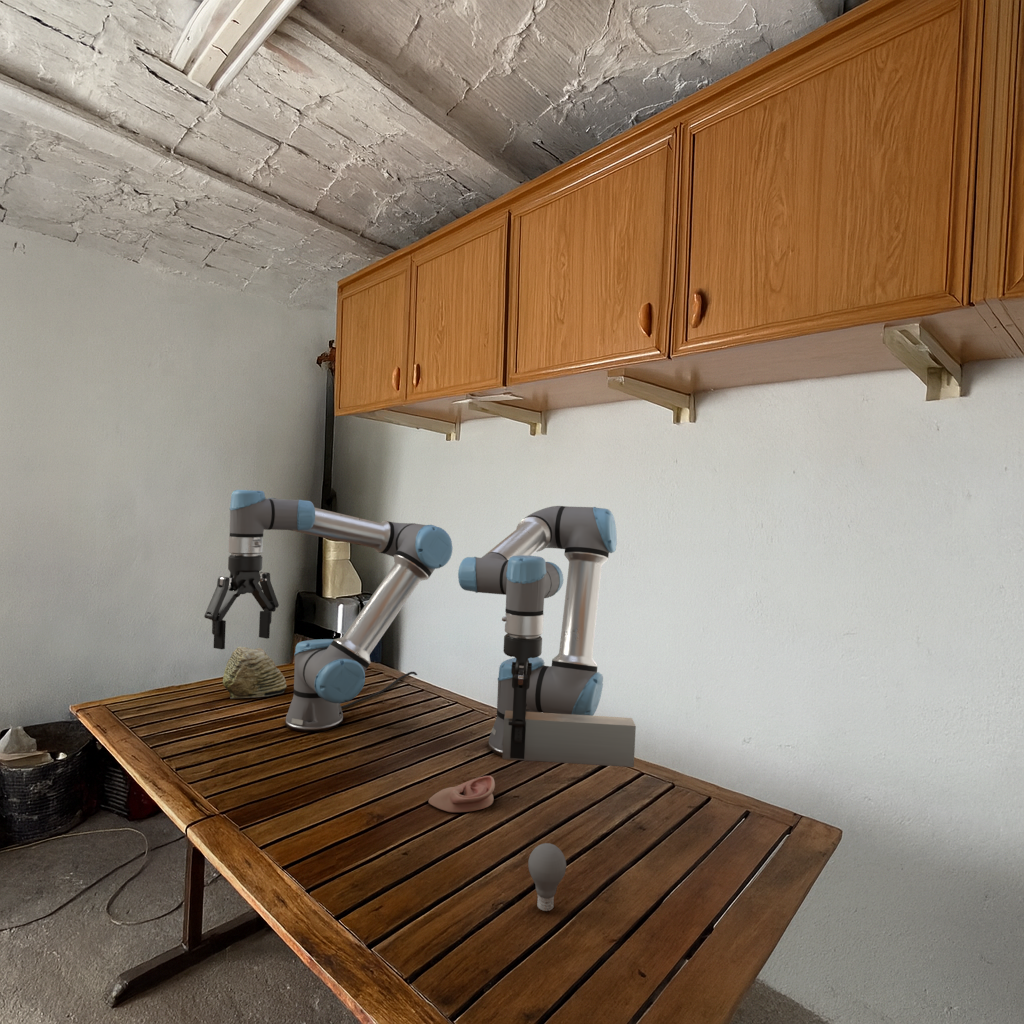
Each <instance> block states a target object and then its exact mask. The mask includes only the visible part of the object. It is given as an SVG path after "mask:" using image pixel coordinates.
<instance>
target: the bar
mask: <svg viewBox="0 0 1024 1024" xmlns="http://www.w3.org/2000/svg"><path fill="white" fill-rule="evenodd" d="M512 719H513V711H505V717H504V735H503V756H501V757H502V760H509V761H510V760H511V761H525V762H540V763H541V762H544V763H556V764H558V763H559V764H574V765H589V766H590V765H591V766H604V767H605V766H606V767H621V768H634V767H635V751H636V732H637V730H636V729H637V725H636V723H635V721H634V719H633V717H624V716H623V717H622V716H604V715H593V716H590V715H573V714H557V713H543V712H541V713H540V712H526V716H525V721H526V732H525V753H524V759H515V758H510V752H511V731H512V725H509V722H512Z"/></svg>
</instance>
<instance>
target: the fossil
mask: <svg viewBox="0 0 1024 1024" xmlns="http://www.w3.org/2000/svg"><path fill="white" fill-rule="evenodd" d="M222 676H223V677H222V685H223V687H224V688H225V690H226V691H228V693H229V698H230V699H250V698H264V697H271V696H275V695H281V694H284V693H285V691H286V689H287V687H288V686H287V680H286V678H285V676H284V674H283V673H282V672H281V669H279V668H278V667H277V665H276V663H275V662H274V660H273V659H272V658H271V657H270V656H269V655H268V654H267V653H266V652H265V650H264V649H263V648H260V647H258V648H251V647H247V646H246V647H245V646H238V647H237V648H236V649H235V650H233V651H232V653H231V656H230V657H229V659H228V660H227V663H226V666H225V668H224V671H223V675H222Z"/></svg>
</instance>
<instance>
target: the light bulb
mask: <svg viewBox="0 0 1024 1024" xmlns="http://www.w3.org/2000/svg"><path fill="white" fill-rule="evenodd" d="M527 865H528V872H529V875H530V876H531V879H532V881H533V883H534V884H535V892H536V894H537V903H536V906H537V908H538V909H539V910H540V911H544V912H548V911H549V912H550V911H551V910H554V905H555V901H554V899H555V895H556V893H557V890H558V886H559V885H560V883H561V882H562V880H563V878H564V877H565V875H566V871H567V861H566V857H565V855H564V852H563V851H562V850H561V849H560V848H559V847H558V846H557V845H556V844H553V843H550V842H549V843H548V842H545V843H541V844H538V845H537V846H535V848H533V850H532V851H531V852H530V854H529V857H528V862H527Z"/></svg>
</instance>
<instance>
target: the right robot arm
mask: <svg viewBox="0 0 1024 1024" xmlns="http://www.w3.org/2000/svg"><path fill="white" fill-rule="evenodd" d="M614 516H615V515H614V513H613V512H612V511H611V510H610V509H608V508H604V507H603V508H602V507H596V506H592V507H591V506H567V505H566V506H565V505H552V506H547V507H545V508H542V509H539V510H536V511H534V512H532V513H530V514H528V515H527V516H525V517H524V518H522V519H521V520H520V521H519V522H518V524H517V526H516V529H515V530H514V531H513V532H511V533H510V534H509V535H507V536H506V537H505V538H504V539H503V540H501V541H500V542H499V543H498V544H496V545H495V546H494V547H492V548H491V549H490V550H489V551H487V553H485V554H484V555H483V556H482V557H477V556H466V557H464V558H463V559H462V560H461V562H460V564H459V566H458V570H457V571H458V572H457V577H458V584H459V586H460V588H461V589H462V590H464V591H466V592H467V591H468V592H474V593H475V594H478V593H479V594H480V593H481V594H490V595H491V594H493V595H503V596H505V608H504V609H505V611H504V612H505V616H502V618H501V621H502V622H505V623H504V632H505V633H506V634H505V635H504V636H503V650H502V651H503V653H504V654H505V655H506V656H508V657H509V659H505V660H503V661H502V662H501V663H500V665H499V667H498V668H499V669H498V677H497V701H496V718H495V721H494V723H493V726H492V729H491V731H490V734H489V736H488V749H489V751H491V752H492V753H494V754H495V755H498V756H500V757H503V735H504V717H505V711H513V719H512V722H509V725H512V731H511V752H510V758H515V759H524V753H525V732H526V721H525V716H526V712H540V713H557V714H573V715H590V716H595V713H596V712H597V709H598V707H599V704H600V701H601V697H602V692H603V688H604V683H603V682H604V676H603V674H602V673H600V672H599V671H598V664H597V662H596V661H595V659H594V657H593V656H594V644H595V635H596V626H597V625H596V624H597V617H598V606H599V597H600V587H601V577H602V568H603V567H602V566H603V565H604V564H605V563H607V562H608V560H609V556H610V555H609V554H613V553H615V552H616V550H617V544H618V543H617V542H618V541H617V540H618V539H617V526H616V525H617V524H616V521H615V517H614ZM545 549H559V550H564V553H563V555H564V557H565V558H566V560H568V569H567V578H566V588H565V596H564V598H565V599H564V604H563V605H564V606H563V614H562V624H561V632H560V641H559V650H558V654H557V655H555V656H554V657H553V658H552V660H551V666H550V665H545V660H544V658H542V657H540V656H541V655H542V652H543V651H542V649H543V637H542V634H543V633H544V616H545V614H544V609H545V608H544V607H545V599H548V598H551V597H553V596H555V595H556V594H557V593H559V592H560V590H561V589H562V587H563V584H564V574H563V571H562V569H561V568H560V567H559V566H558V565H557V564H556V563H555V562H552V561H546V560H545V558H543V557H541V556H538V555H537V556H536V555H534V554H535V553H536V552H537V553H538V552H541V551H543V550H545Z"/></svg>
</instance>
